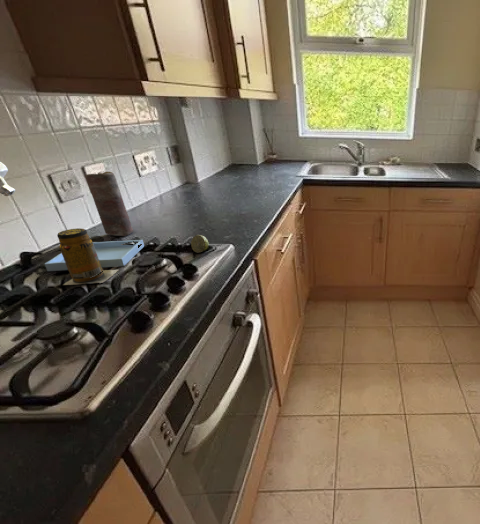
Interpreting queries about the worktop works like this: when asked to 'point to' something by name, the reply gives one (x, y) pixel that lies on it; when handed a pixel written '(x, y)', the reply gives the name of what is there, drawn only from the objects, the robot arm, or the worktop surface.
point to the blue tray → (103, 255)
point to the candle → (109, 203)
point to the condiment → (81, 257)
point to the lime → (199, 243)
